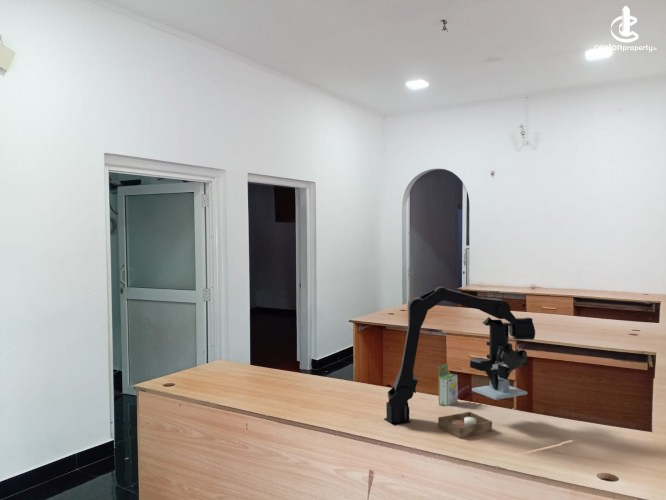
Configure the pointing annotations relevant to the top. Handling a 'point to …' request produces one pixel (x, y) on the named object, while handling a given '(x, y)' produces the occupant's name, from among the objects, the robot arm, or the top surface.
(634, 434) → the top surface
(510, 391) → the lid
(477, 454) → the top surface
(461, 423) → the puck terracotta
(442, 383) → the ink box
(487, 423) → the box
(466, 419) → the puck cream
